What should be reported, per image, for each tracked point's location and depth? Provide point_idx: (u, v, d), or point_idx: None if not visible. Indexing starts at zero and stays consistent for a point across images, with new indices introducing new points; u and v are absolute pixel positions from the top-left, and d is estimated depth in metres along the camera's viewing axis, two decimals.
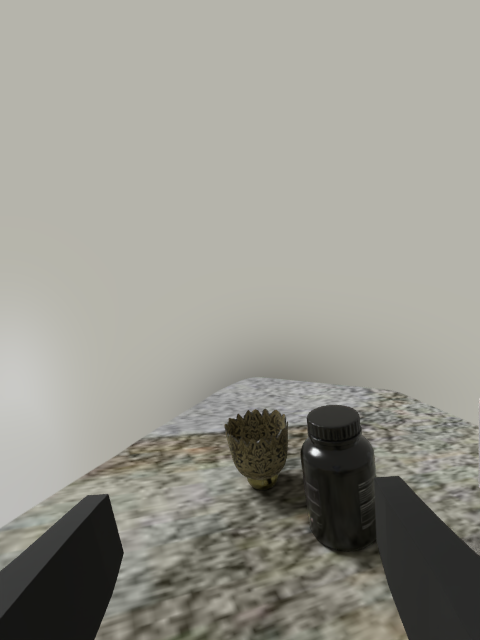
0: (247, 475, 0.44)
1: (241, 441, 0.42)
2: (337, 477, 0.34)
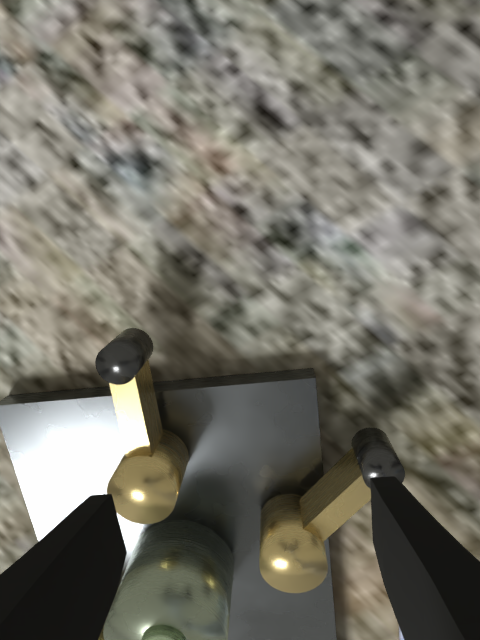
0: None
1: None
2: None
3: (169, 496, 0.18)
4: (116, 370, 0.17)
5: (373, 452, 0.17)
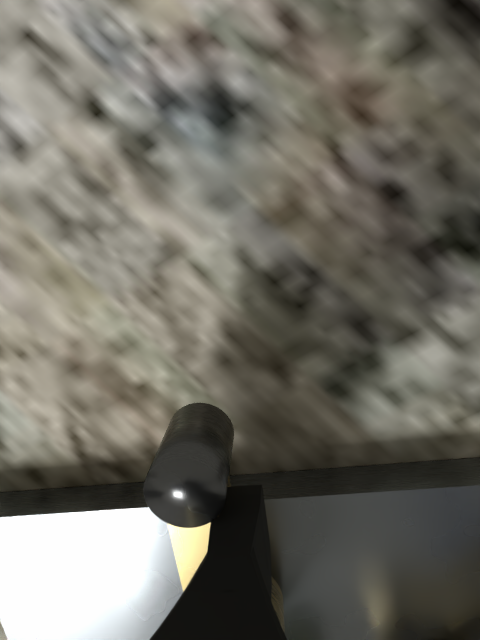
0: None
1: None
2: None
3: None
4: (183, 503, 0.09)
5: None
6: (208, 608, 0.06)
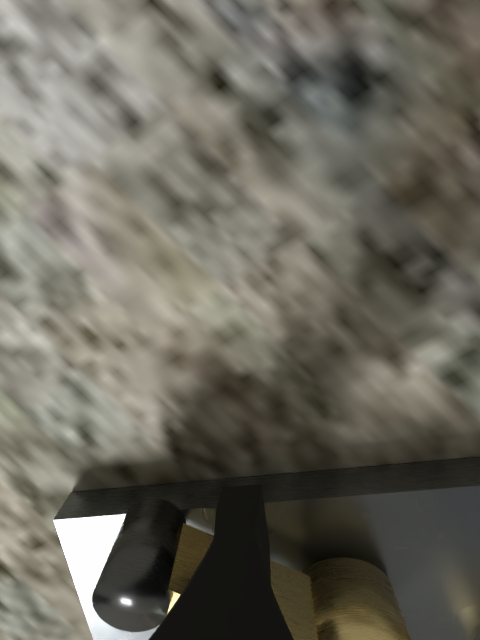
0: None
1: None
2: None
3: None
4: (138, 609, 0.09)
5: None
6: (207, 608, 0.06)
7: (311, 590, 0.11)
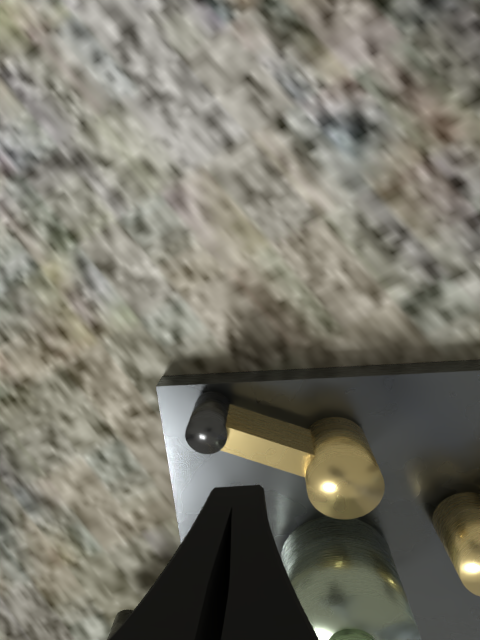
0: None
1: None
2: None
3: (360, 464, 0.16)
4: (210, 438, 0.17)
5: None
6: (168, 609, 0.06)
7: (311, 434, 0.18)
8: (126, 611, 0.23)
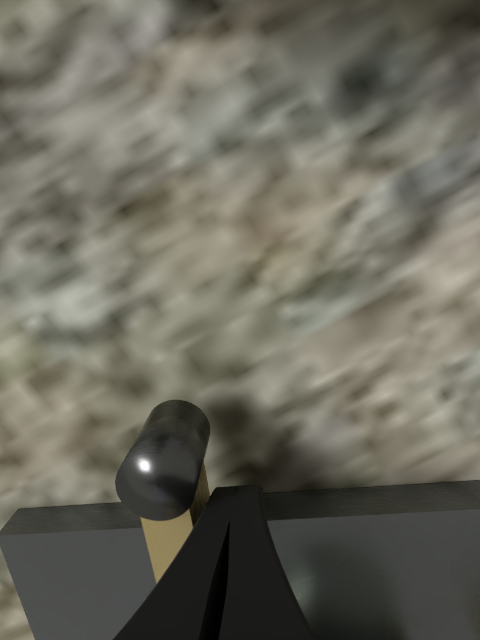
0: None
1: None
2: None
3: None
4: None
5: None
6: (172, 609, 0.06)
7: None
8: (206, 424, 0.11)
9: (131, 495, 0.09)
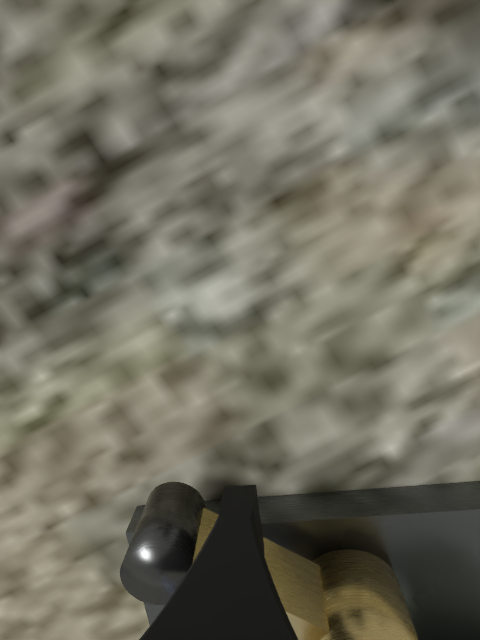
0: None
1: None
2: None
3: None
4: None
5: None
6: (198, 608, 0.06)
7: None
8: (186, 487, 0.12)
9: (152, 595, 0.10)
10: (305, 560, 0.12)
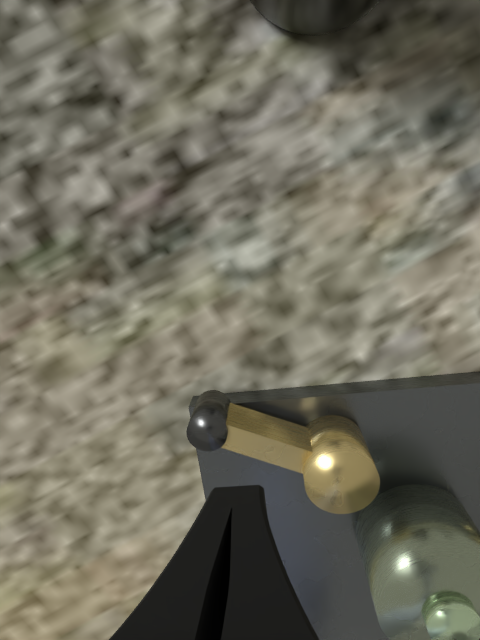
0: None
1: None
2: None
3: None
4: None
5: None
6: (169, 609, 0.06)
7: None
8: (217, 392, 0.19)
9: (206, 445, 0.17)
10: (299, 425, 0.19)
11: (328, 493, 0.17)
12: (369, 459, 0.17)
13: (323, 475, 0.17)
